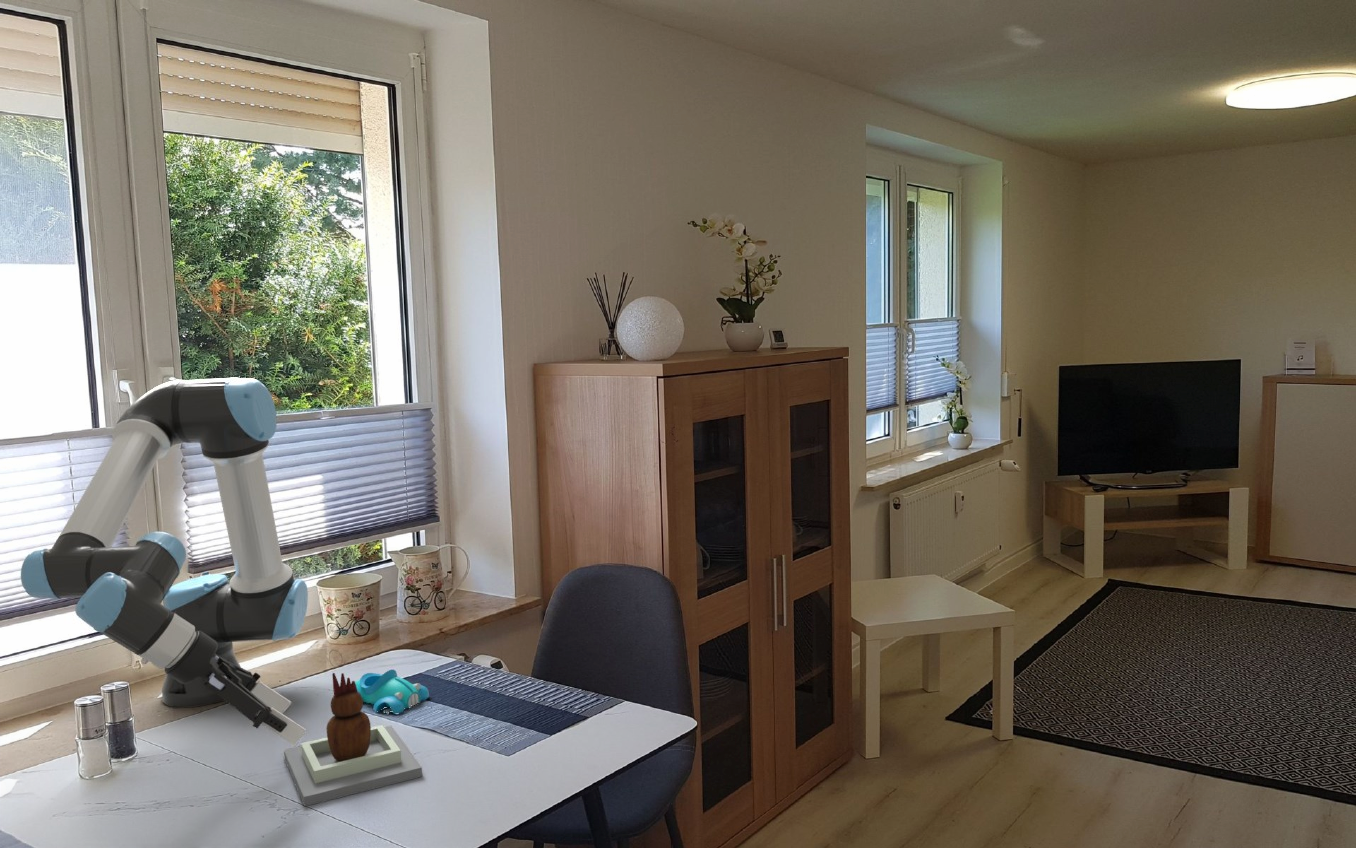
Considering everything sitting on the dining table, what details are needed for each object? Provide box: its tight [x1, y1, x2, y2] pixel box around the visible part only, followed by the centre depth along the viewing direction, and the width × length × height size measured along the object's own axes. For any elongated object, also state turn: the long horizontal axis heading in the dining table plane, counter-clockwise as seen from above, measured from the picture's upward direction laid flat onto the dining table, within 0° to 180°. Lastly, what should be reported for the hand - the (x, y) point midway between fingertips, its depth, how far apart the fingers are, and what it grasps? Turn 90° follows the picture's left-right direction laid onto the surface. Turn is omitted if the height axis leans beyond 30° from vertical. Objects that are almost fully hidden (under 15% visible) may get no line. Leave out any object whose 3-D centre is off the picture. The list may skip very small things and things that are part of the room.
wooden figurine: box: [326, 672, 371, 762], centre depth 165 cm, size 7×6×15 cm
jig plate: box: [283, 724, 423, 807], centre depth 166 cm, size 20×18×4 cm
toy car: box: [355, 669, 430, 715], centre depth 195 cm, size 11×18×7 cm, turn 62°
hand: (292, 723), depth 161 cm, fingers open, 13 cm apart
